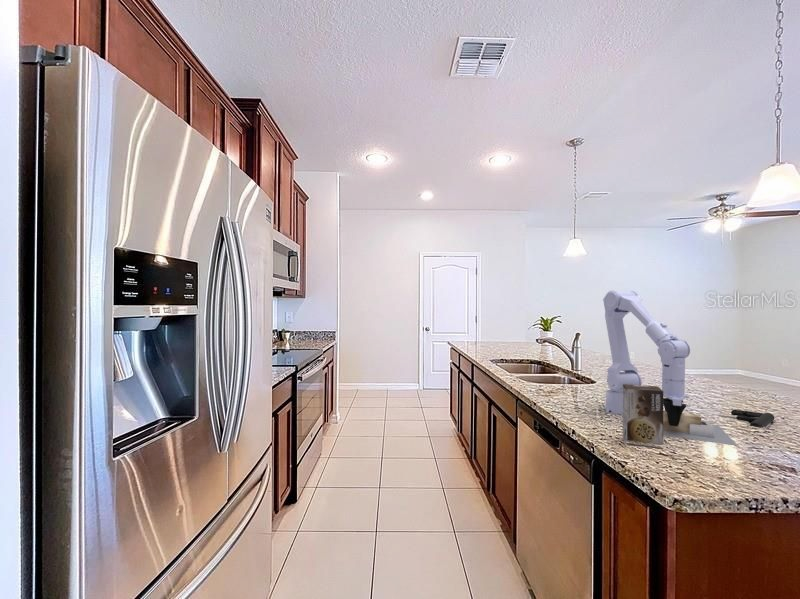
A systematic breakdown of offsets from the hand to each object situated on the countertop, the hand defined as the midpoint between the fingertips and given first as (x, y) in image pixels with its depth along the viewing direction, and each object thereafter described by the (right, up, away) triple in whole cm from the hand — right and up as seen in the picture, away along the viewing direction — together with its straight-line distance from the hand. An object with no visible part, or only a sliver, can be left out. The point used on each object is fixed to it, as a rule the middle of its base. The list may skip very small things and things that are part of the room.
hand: (672, 424), depth 122 cm
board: (+4, -3, 0) cm, 5 cm away
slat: (0, -2, 0) cm, 2 cm away
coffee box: (-14, -3, -8) cm, 17 cm away
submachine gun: (+33, -4, +14) cm, 36 cm away
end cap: (+6, -2, -3) cm, 7 cm away
